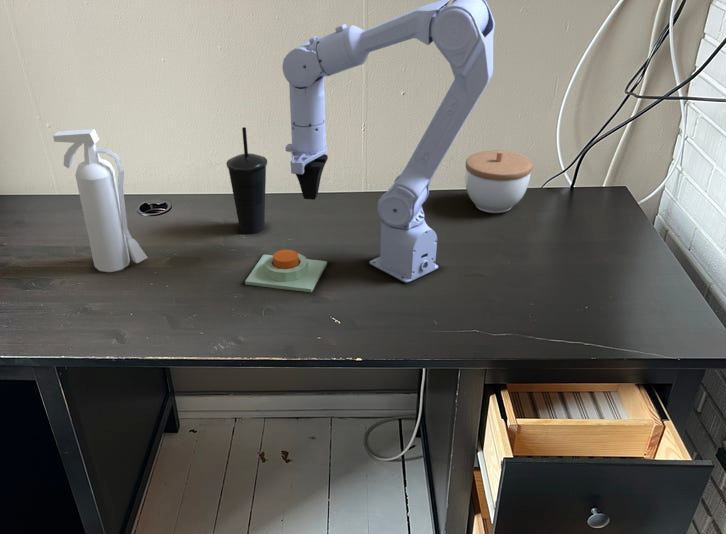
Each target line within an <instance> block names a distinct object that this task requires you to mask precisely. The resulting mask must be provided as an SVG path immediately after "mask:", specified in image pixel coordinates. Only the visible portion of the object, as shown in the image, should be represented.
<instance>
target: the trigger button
mask: <svg viewBox="0 0 726 534" xmlns="http://www.w3.org/2000/svg"><path fill="white" fill-rule="evenodd" d="M298 254H299V252H297V251H295V250H292V249H281V250H278V251H276V252H274V253H273V254H272V255H273V264H274V267H276V268H278V269H290V268H294V267H296V266H298V264H299V259H298Z"/></svg>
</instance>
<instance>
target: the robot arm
mask: <svg viewBox="0 0 726 534" xmlns="http://www.w3.org/2000/svg"><path fill="white" fill-rule="evenodd" d="M450 2H451V0H438V1H434V2H431V3H428V4H424V5H422V6H419V7H416V8H414V9H412V10H409V11H408V12H405V13H403V14H401V15H398V16H396V17H393V18H391V19H388V20H386V21H383V22H381V23H380V24H377V25H375V26H372V27H370V28H367V29H362V28H361V27H359V26H356V25H353V24H352V25H349V26H347V24H346V23H343V24H340V25H338V26H337V27H335V28H334V29H335V31H334V32H332V33H329V34H327V35H323V36H321V37H318V36H317V35H315V36H313V37H311V38H309V40H308V41H306V42H303V43H302V44H300V45H299V46H297V47H295V48H293V49H292V50H290V51H289V52H288V53H287V54H286V55H285V57H284V58H283V61H282V73H283V76H284V78H285V79H286V81H287V82H288V85H289V86H288V87H289V88H288V89H289V110H290V131H291V132H290V133H291V134H290V135H291V143H288V144H286V146H285V149H284V150H285V152H288V153H290V155H291V161H290V174H292V175H295V176H296V178H297V180H298V183H299V187H300V191H301V194H302V197H303V199H304V200H313V201H315V200H316V199H317V197H318V195H319V189H320V184H321V178H322V175H323V171H324V168H325V165H326V164H327V161H328V160H329V156H328V155H327V154H326V153H327V152H328V145H327V139H326V138H327V137H326V136H327V135H326V134H327V133H326V95H325V93H326V92H325V77H331V76H333V75H336V74H339V73H342V72H344V71H348V70H350V69H353V68H356V67H359V66H361V65H364V64H365V63H366V61H367V60H368V57H369V55H370V53H372V52H375V51H378V50H381V49H384V48H387V47H391V46H393V45H397V44H399V43H403V42H406V41H409V40H412V39H416V40H418V41H420V42H421V43H422V44H424V45H426V46H430V45H431V44H432V43H433V44H434V45H435V47H436V48H437V49H438V51H439V52H440V54H441V55H442V56H443V57H444V58H445V60H446V61H447V62H448V63H449V66H450V68H451V72H452V74H453V77H454V79H453V82H452V83H451V85H450V87H449V88H448V90H447V92H446V94H445V96H444V97H443V99H442V102H441V103H440V105H439V106H438V108H437V110H436V112H435V114H434V116H433V117H432V119H431V120H430V123H429V124H428V126H427V128H426V130H425V132H424V133H423V135H422V136H421V139H420V140H419V142H418V144H417V146H416V148H415V149H414V151H413V153H412V155H411V157H410V158H409V160H408V162H407V163H406V165H405V167H404V169H403V170H402V172H401V173H400V174H399V175H398V176H396V178H395V179H394V180H393V183H392V184H391V186H390V187H389V188H388V189H387V191H386V192H385V193H384V194H382V195H381V196H380V197H379V199H378V202H377V209H376V210H377V214H378V216H379V218H380V219H381V221H380V225H381V226H380V252H379V253H380V254H379V256H378V257H376V258H374V259H371V260H369V265H371V266H372V267H374V268H376V269H378V270H380V271H382V272H384V273H386V274H387V275H390V276H392V277H393V278H395V279H396V280H399V281H401V282H403V283H405V284H408V283H411V282H413V281H415V280H417V279H418V278H422V277H423V276H425V275H427V274H429V273H432V272H434V271H436V270H437V269H439V265H438V264H436V259H437V249H438V236H437V233H436V231H435V230H434V229H433V228H431V227H430V226H429V225H428V224H427V223H426V220H425V212H424V210H423V204H424V203H425V202H426V200H427V199H428V197H429V194H430V185H431V181H432V180H433V178H434V176H435V174H436V171H437V170H438V168H439V167H440V165H441V164H442V162H443V160H444V158H445V157H446V155H447V153H448V152H449V150H450V148H451V146H452V145H453V144H454V141H456V138H457V136H458V135H459V133H460V132H461V130H462V128H463V126H464V125H465V123H466V121H467V120H468V118H469V116H470V114H472V111H473V110H474V108H475V107H476V104H477V103H478V102H479V100H480V98H481V96H482V95H483V93H484V91H485V90H486V88H487V86H488V84H489V83H490V81H491V79H492V77H493V74H494V34H495V27H496V21H495V19H494V16H493V14H492V11H491V8H490V6H489V4H488V2H487V0H453V1H452V2H451V3H450ZM449 3H450V4H449ZM448 4H449V5H448Z"/></svg>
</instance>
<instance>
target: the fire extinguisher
mask: <svg viewBox="0 0 726 534" xmlns="http://www.w3.org/2000/svg"><path fill="white" fill-rule="evenodd" d="M52 138H53V142H54V143H55V142H56V143H70V144H72V145H70V146H69V147H68V149H67V150H66V152H65V154H64V155H63V166H64V167H65V168H67V169H70V168H72V167H73V166H74V161H75V155H76V153H77V151H78V150H79V148H80V147H81V146H82V145H83V153H84V157H83V158H84V160H83V161H82V162H80V163H78V164H77V168H76V171H75V174H74V175H75V180H76V185H77V189H78V190H77V191H78V195H79V200H80V204H81V209H82V214H83V219H84V223H85V228H86V233H87V238H88V242H89V243H88V244H89V247H90V252H91V256H92V262H93V267H94V268H95V269H96V270H98V271H99V272H104V273H105V272H106V273H113V272H118V271H122V270H124V269H125V268H126V267H128V266H129V265H130V261H131V260H132V261H133V262H134V263H135V264H138V263H141V262H142V261H144V260H146V259H149V258H148V257H149V256H148V255H146V253H145V252H144V249H142V247H141V246H140V244H139V242H138V241H137V239H134V238H133V237H132V235H131V233H130V230H129V229H128V221H127V212H126V202H125V201H126V200H125V192H124V180H125V179H124V178H125V170H124V166H123V164H122V161H121V158H120V155H119V154H117V153H115V152H114V151H112V150H111V149H109V148H107V147H102V146H101V147H100V146H99V147H98V146H97V145H96V144H97V142H99V141H100V137H99V136H98V133H97V131H96V129H95V128H87V129H73V130H72V129H71V130H58V131H57V132H56V133H55V134H53V136H52ZM100 154H106V155H108V156H109V157H111V158H113V159H114V160H115V164H116V167H117V171H118V172H117V173H118V175H117V177H118V178H116V170H115V168H114V166H113V165H112V164H111V162H110V161H108V160H106V159H103V158H101V156H100ZM130 257H131V259H130Z"/></svg>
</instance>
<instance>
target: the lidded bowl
mask: <svg viewBox="0 0 726 534" xmlns="http://www.w3.org/2000/svg"><path fill="white" fill-rule="evenodd" d="M533 166H534V164H533V161H532V160H531V159H530V158H529V156H526V155H524V154H521V153H519V152H515V151H510V150H498V149H497V150H484V151H479V152H476V153H473V154H470V155H469V156H467V158H466V160H465V176H464V178H465V179H464V180H465V182H464V183H465V190H466V192H467V196H468V198H469V199H470V200H471V202H472V203H473V204H474V205H475V207H476V209H478V210H480V211H482V212H486V213H491V214H500V213H506V212H508V211H510V210H511V209H513V207H515V205H517V204H518V203H519V202H520V201H521V200H522V199H523V197H524V196H525V194H526V193H527V190H528V188H529V184H530V179H531V175H532V171H533Z"/></svg>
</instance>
